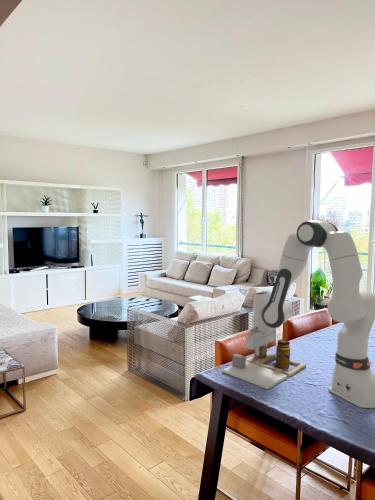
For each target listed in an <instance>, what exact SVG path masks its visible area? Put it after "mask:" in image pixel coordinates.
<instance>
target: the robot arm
mask: <svg viewBox="0 0 375 500" xmlns="http://www.w3.org/2000/svg"><path fill="white" fill-rule="evenodd" d="M313 248H324V249H325V250H326V253H327V257H328V261H329V266H330V271H331V275H332V276H331V277H332V294H331V298H330V299H329V301H328V304H327V313H328V315H329V317H330V318H331V319H332V320H333V321H334V322H336V323H343V325H342V327H341V328H340V329H339V331H338V334H337V341H336V342H337V343H336V344H337V346H336V351H335V354H334V361H335V365H334V368H333V370H332V375H331V376H332V377H331V382H330V386H329V387H328V391H329V392H330V393H332V394H334V395H336V396H338V397H340V398H342V399H343V400H345V401H347V402H348V403H351V404H353V405H355V406H357V407H359V408H365V409H375V373H374V372H373V370H372V369H371V366H372V364H373V362H372V361H370V360H369V356H368V352H369V350H368V348H369V338H370V335H371V334H370V333H371V330H372V328H373V325H374V322H375V293H374V292H371V291H366V290H360V282H361V279H362V278H363V270H362V265H361V262H360V258H359V254H358V249H357V246H356V244H355V242H354V239H353V237H352V235H351V233H350V232H348V231H345V230H339V229H338V227H337V226H336V225H334V224H333V223H331V222H327V221H326V222H325V221H324V220H313V219H311V220H306V221H303V222H301V223H300V224H299V225H298V227H297V228H296V231H294V232H292V233H290V234H288V237H287V239H286V241H285V243H284V245H283V250H282V253H281V256H280V262H279V266H278V269H277V274H276V277H275V279H274V280H275V281H274V284H273V286H272V291H269V290H266V291H264V290H263V291H258V292H256V293H255V294H254V298H253V304H252V311H253V315H252V323H251V324H252V328H250V329H249V332H248V333H247V336H246V339H245V340H246V341H245V342H246V343H245V346H246V348H247V349H249V350H253V351H254V349H255V351H256V355H258V356H259V355H260V353H261V351H259V349H260V346H264V347H267V348H268V344H271V342H274V341H275V340H276V337H277V328H279V327H282V325H283V324H284V323H286V322H287V321H288V320H289V319H291V318H292V316H293V314H294V309H293V306H292V304H291V303H290V302H289V301H287V300H286V299H287V295H288V292H289V289H290V287H291V285H292V284H293V283H294V281H296V280H297V279H298V278H299V277H300V276H301V275H302V274H303V272H304V270H305V267H306V265H307V261H308V258H309V253H310V252H311V250H312V249H313Z"/></svg>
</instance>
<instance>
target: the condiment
mask: <svg viewBox="0 0 375 500" xmlns="http://www.w3.org/2000/svg"><path fill="white" fill-rule="evenodd" d="M290 343H291V342H290V340H288V339H283V338H282V339H278V341H277V345H276V351H275V352H276V353H275V354H276V359H275V362H268V364H269V366H271V367H274V368H277V369H280V370H291V369H293V368H292V366H290V363H289V362H290V360H291V359H290V357H291V347H290V346H291V345H290Z"/></svg>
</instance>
